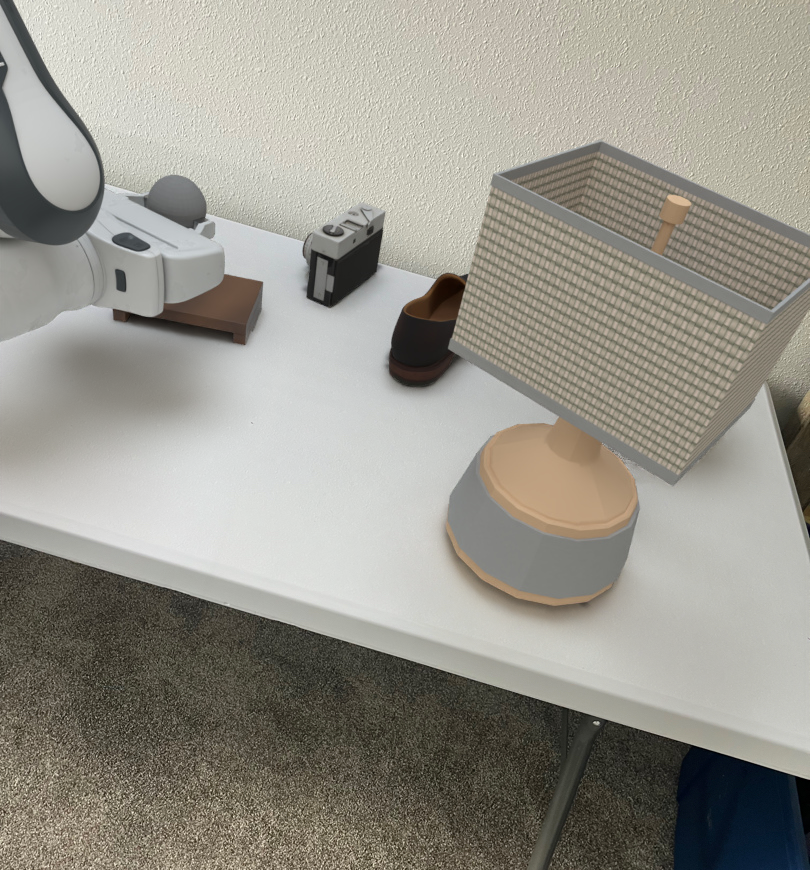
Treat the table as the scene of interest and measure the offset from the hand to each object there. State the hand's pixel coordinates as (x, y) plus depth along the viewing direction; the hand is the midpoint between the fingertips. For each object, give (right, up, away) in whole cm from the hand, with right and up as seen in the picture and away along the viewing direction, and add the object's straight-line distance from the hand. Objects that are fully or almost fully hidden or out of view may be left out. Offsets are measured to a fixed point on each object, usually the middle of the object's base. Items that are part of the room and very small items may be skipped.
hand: (183, 213), depth 83 cm
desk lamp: (+37, -36, -1) cm, 51 cm away
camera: (+13, +3, +30) cm, 33 cm away
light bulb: (-2, -5, +4) cm, 6 cm away
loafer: (+29, -8, +24) cm, 38 cm away
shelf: (-4, -6, +17) cm, 18 cm away
